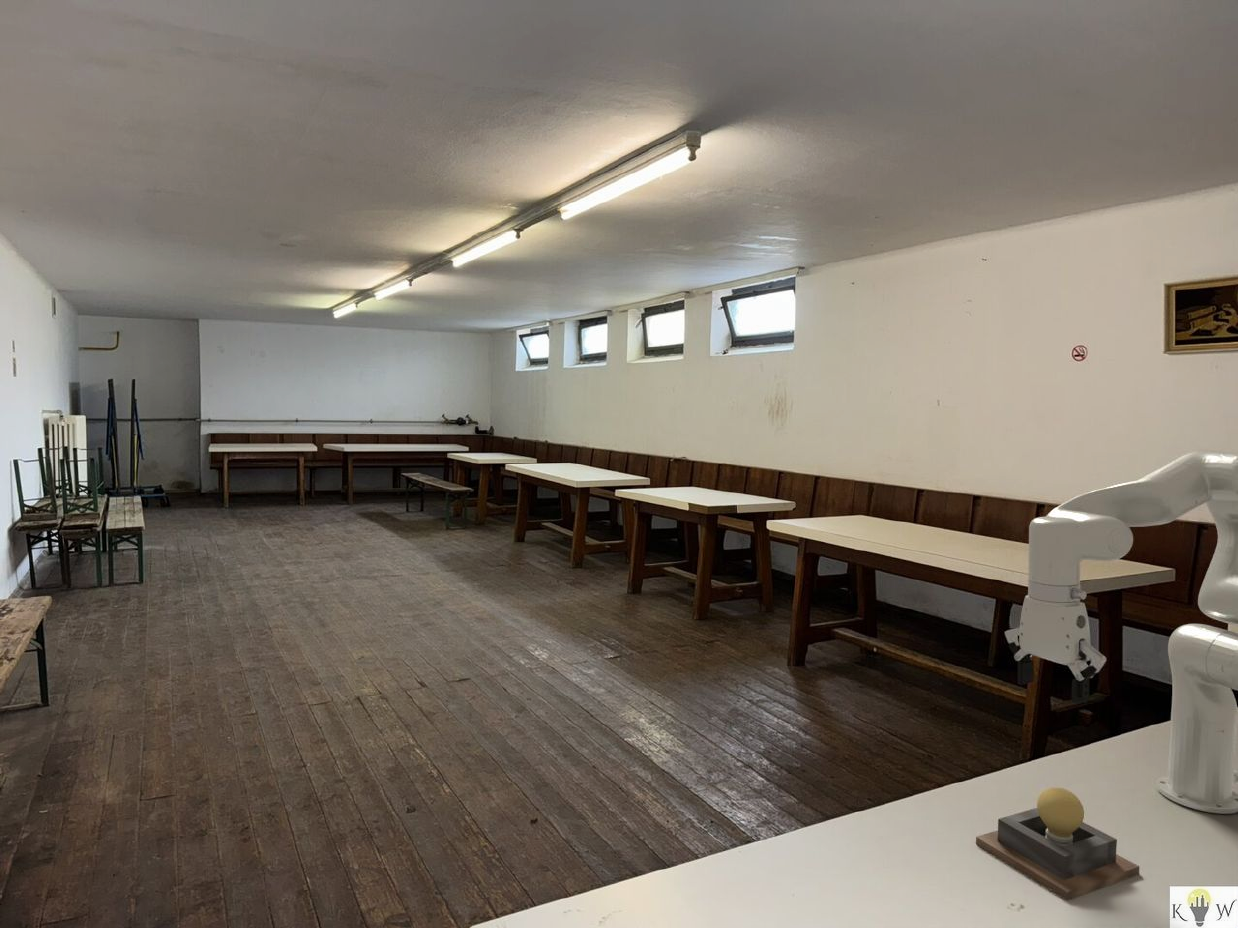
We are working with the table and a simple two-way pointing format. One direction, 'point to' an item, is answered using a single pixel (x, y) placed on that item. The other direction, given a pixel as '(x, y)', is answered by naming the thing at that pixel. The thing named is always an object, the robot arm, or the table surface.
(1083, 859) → the lamp socket
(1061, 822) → the light bulb
